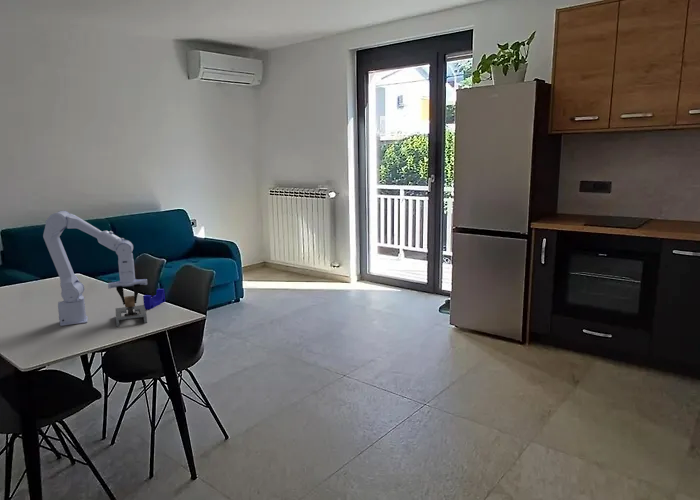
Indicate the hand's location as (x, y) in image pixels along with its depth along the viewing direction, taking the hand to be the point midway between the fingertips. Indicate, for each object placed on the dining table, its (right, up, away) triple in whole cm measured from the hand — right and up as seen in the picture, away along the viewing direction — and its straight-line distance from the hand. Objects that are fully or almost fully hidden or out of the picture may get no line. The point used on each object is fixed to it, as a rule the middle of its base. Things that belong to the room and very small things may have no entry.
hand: (129, 303), depth 207 cm
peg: (0, -6, +1) cm, 6 cm away
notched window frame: (+1, -6, -2) cm, 7 cm away
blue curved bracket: (+3, -3, +17) cm, 18 cm away
